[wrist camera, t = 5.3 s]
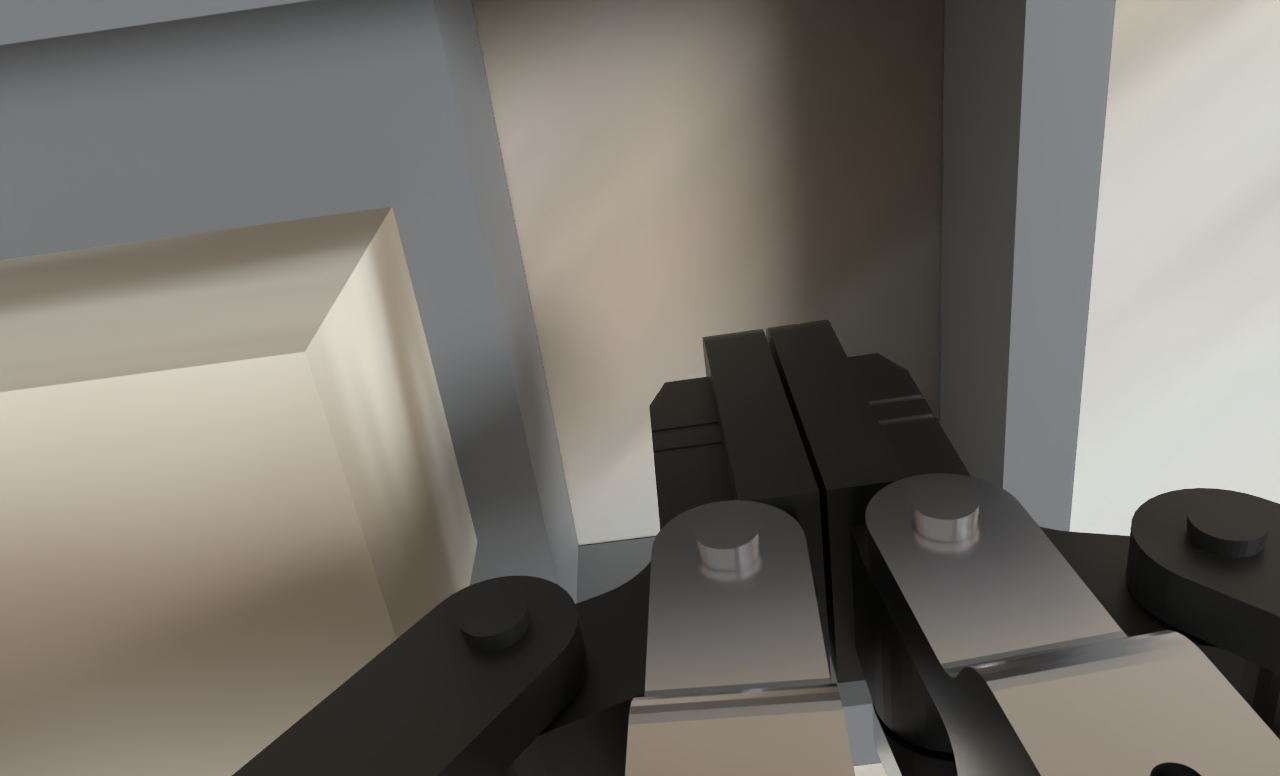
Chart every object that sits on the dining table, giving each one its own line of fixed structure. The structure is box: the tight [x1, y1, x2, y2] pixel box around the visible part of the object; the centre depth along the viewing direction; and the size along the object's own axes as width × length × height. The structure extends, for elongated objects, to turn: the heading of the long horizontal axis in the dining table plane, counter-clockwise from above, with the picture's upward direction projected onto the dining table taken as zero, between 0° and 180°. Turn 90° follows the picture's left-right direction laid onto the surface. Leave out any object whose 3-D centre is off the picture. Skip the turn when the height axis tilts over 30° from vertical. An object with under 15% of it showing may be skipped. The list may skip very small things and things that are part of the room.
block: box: [0, 207, 477, 776], centre depth 12 cm, size 5×5×4 cm
